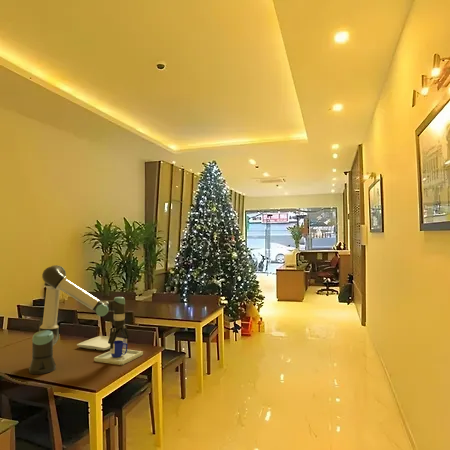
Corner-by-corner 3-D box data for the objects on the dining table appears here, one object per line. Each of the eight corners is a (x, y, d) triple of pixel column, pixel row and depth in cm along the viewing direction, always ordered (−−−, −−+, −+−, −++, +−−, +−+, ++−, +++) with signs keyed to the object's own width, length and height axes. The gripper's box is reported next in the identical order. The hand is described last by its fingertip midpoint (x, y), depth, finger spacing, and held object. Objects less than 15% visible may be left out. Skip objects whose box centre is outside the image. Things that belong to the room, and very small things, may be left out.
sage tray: (122, 365, 241) (122, 361, 241) (94, 361, 249) (94, 357, 249) (142, 354, 262) (142, 351, 262) (116, 351, 271) (116, 348, 271)
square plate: (75, 349, 279) (75, 343, 279) (100, 339, 305) (100, 335, 305) (104, 352, 269) (104, 347, 269) (127, 343, 295) (127, 338, 295)
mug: (124, 359, 251) (124, 344, 251) (108, 358, 253) (108, 343, 254) (130, 355, 259) (130, 340, 259) (114, 354, 261) (114, 340, 262)
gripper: (111, 323, 244) (111, 356, 243) (134, 316, 267) (134, 346, 266) (102, 322, 247) (102, 355, 246) (125, 315, 270) (125, 345, 269)
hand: (118, 350), depth 256 cm, fingers open, 13 cm apart
